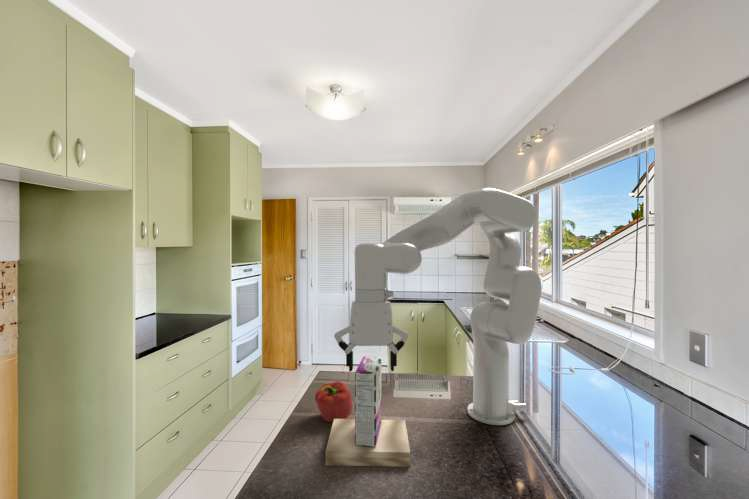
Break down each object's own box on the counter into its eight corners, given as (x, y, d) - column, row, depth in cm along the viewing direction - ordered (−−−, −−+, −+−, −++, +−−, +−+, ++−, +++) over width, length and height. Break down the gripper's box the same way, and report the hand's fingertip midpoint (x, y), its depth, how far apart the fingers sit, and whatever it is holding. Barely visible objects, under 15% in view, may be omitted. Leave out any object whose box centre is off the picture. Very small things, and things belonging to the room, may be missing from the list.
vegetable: (335, 433, 84) (336, 393, 84) (304, 422, 90) (305, 384, 90) (360, 416, 94) (360, 379, 94) (331, 406, 99) (331, 372, 99)
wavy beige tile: (404, 431, 86) (404, 419, 86) (410, 466, 72) (410, 452, 72) (333, 430, 86) (334, 418, 86) (325, 465, 72) (325, 450, 72)
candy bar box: (361, 421, 85) (362, 355, 85) (381, 422, 84) (382, 356, 84) (353, 446, 74) (354, 370, 74) (376, 448, 73) (377, 372, 73)
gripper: (406, 293, 83) (407, 363, 83) (336, 294, 83) (336, 364, 83) (409, 298, 75) (410, 375, 75) (332, 298, 75) (332, 375, 75)
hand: (371, 369), depth 79 cm, fingers open, 9 cm apart
